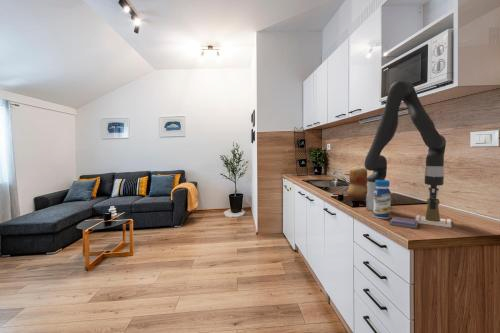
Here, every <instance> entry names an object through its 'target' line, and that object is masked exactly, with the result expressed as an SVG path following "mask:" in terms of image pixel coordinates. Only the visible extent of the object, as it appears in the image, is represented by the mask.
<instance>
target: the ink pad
mask: <svg viewBox="0 0 500 333" xmlns="http://www.w3.org/2000/svg"><path fill="white" fill-rule="evenodd" d="M388 224H389V226H395V227H402V228H406V229H407V228H409V229H413V230H414V229H416V230H417V228H418V225H419V223H418V221H416V219H415V218H407V217H400V216H393V217H391V218H390V221H389V222H388Z"/></svg>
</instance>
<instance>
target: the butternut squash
mask: <svg viewBox="0 0 500 333" xmlns="http://www.w3.org/2000/svg"><path fill="white" fill-rule="evenodd" d="M348 178H349V186H348V188H347V192H346V194H347V197H348V198H349V200H351V201H353V202H357V201H360V202H359V203H361V202H363V201H366V194H367V178H368V170H367V169H366V168H365V166H362V165H360V166H358V165H357V166H352V167H351V168H350V170H349V176H348Z"/></svg>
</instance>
